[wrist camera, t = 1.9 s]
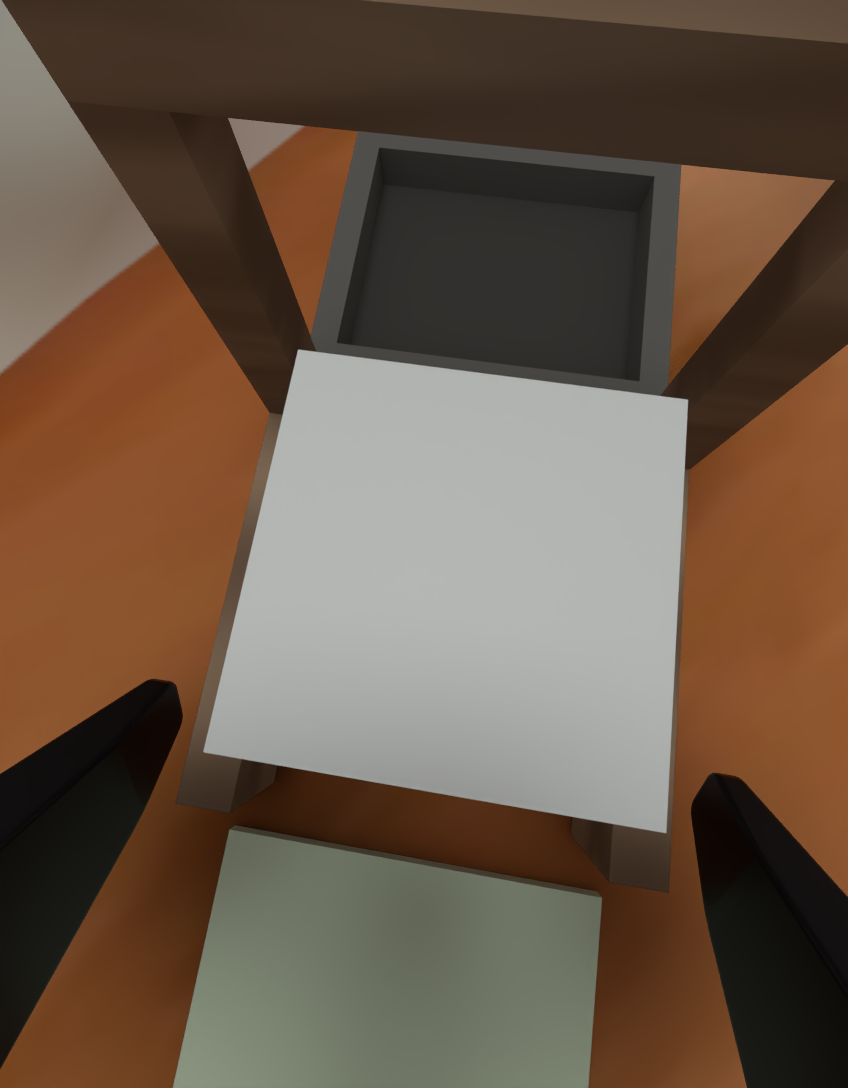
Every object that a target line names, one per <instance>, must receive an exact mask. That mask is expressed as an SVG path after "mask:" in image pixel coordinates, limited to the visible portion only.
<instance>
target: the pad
mask: <svg viewBox="0 0 848 1088" xmlns="http://www.w3.org/2000/svg"><path fill="white" fill-rule="evenodd" d="M601 907H602V897H601V896H600V894H599V893H598V891H593V890H587V889H582V888H576V887H571V886H565V885H560V884H554V883H549V882H543V881H538V880H532V879H527V878H522V877H516V876H511V875H505V874H500V873H494V872H489V871H483V870H478V869H472V868H467V867H461V866H456V865H450V864H445V863H439V862H434V861H428V860H423V859H417V858H412V857H407V856H401V855H396V854H390V853H385V852H379V851H374V850H368V849H363V848H357V847H352V846H346V845H341V844H335V843H330V842H324V841H319V840H313V839H308V838H302V837H297V836H292V835H286V834H281V833H275V832H270V831H264V830H259V829H253V828H248V827H242V826H237V825H235V826H233V827H232V828H231V829H229V834H228V838H227V843H226V847H225V852H224V857H223V861H222V866H221V870H220V875H219V879H218V884H217V889H216V893H215V898H214V902H213V907H212V912H211V916H210V921H209V925H208V930H207V934H206V939H205V944H204V948H203V953H202V957H201V962H200V966H199V971H198V976H197V980H196V985H195V989H194V994H193V998H192V1003H191V1008H190V1012H189V1017H188V1021H187V1026H186V1030H185V1035H184V1040H183V1044H182V1049H181V1053H180V1058H179V1062H178V1067H177V1072H176V1076H175V1081H174V1085H173V1088H588V1084H589V1071H590V1057H591V1043H592V1030H593V1016H594V1002H595V989H596V975H597V961H598V948H599V934H600V921H601Z"/></svg>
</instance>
